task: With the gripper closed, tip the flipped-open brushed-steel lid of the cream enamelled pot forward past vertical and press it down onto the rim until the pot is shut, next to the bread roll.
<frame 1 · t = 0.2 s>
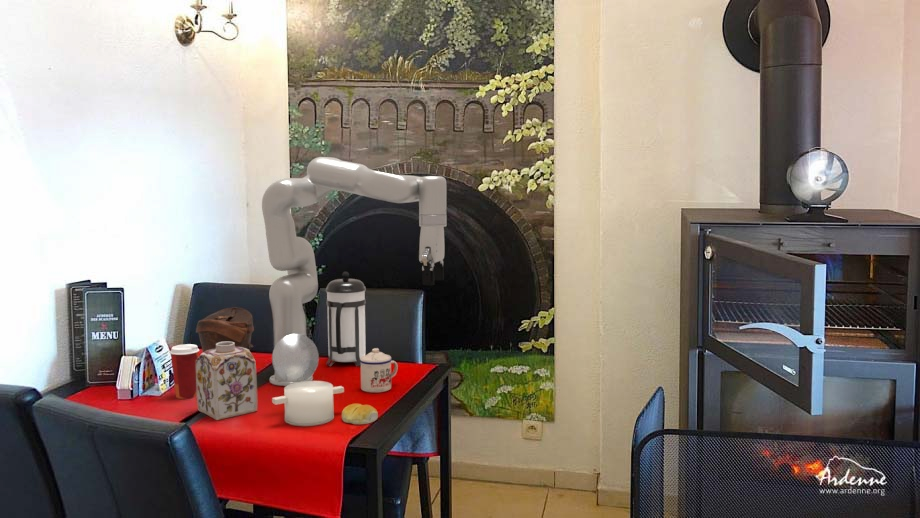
hand: (433, 282, 210), 31 cm above the table, tool pointing down, fingers open, 9 cm apart
teacup with lid: (380, 388, 218), on the table
paper cup: (186, 396, 210), on the table
coffee press: (347, 364, 246), on the table
case: (226, 366, 243), on the table
bread roll: (359, 420, 189), on the table
decorative jar: (227, 411, 196), on the table
pot: (309, 418, 190), on the table
lid: (294, 358, 196), point 14 cm above the table, hinge at 104.0°
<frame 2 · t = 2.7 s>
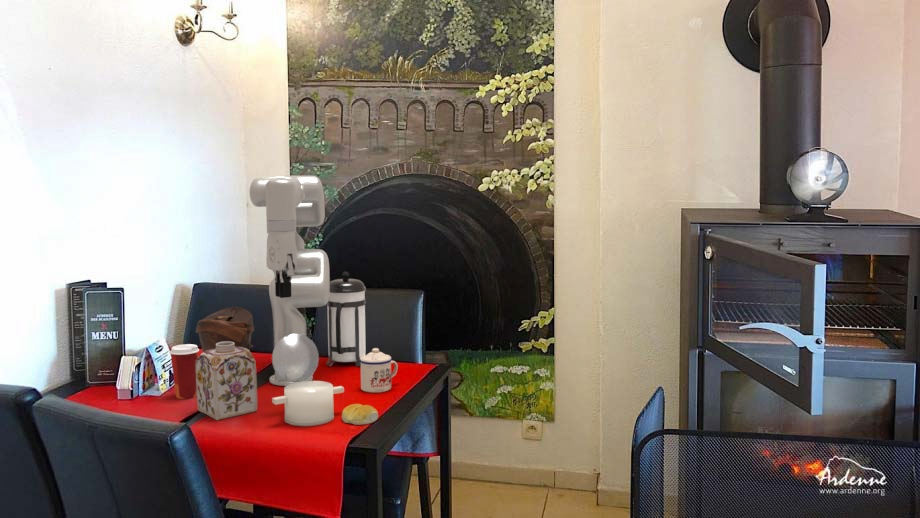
hand: (283, 296, 199), 29 cm above the table, tool pointing down, fingers closed
nothing on the table moved.
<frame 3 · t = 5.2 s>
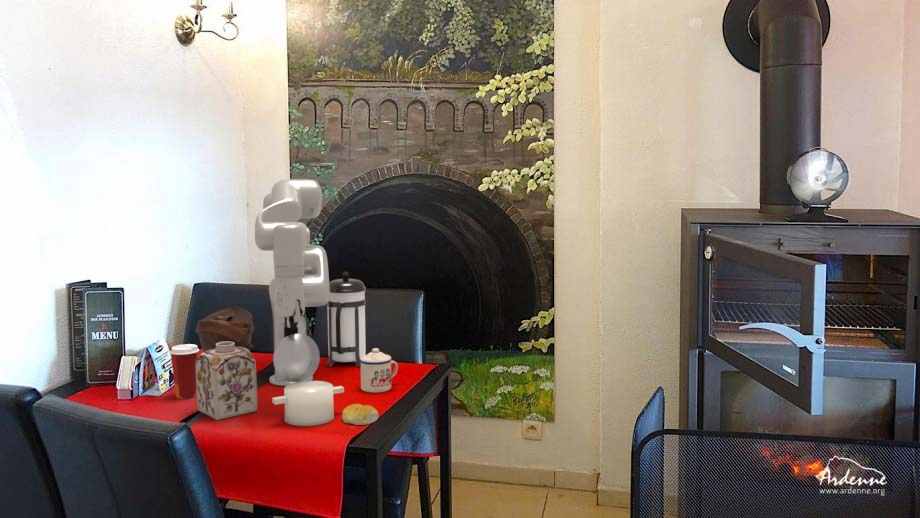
hand: (291, 341, 197), 18 cm above the table, tool pointing down, fingers closed
lid: (296, 357, 195), point 14 cm above the table, hinge at 97.1°, touching gripper
everything else where it was.
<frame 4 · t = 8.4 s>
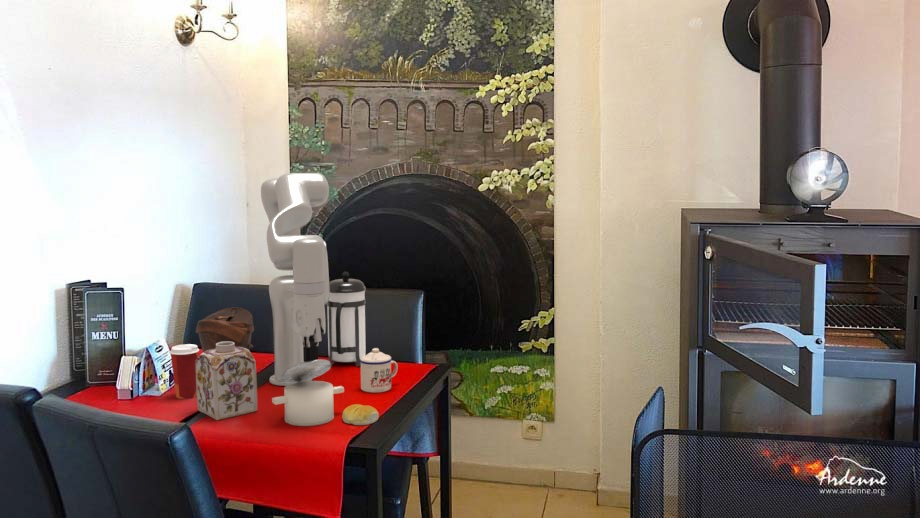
hand: (310, 361, 187), 15 cm above the table, tool pointing down, fingers closed
lid: (306, 369, 190), point 12 cm above the table, hinge at 34.8°, touching gripper
everything else where it was.
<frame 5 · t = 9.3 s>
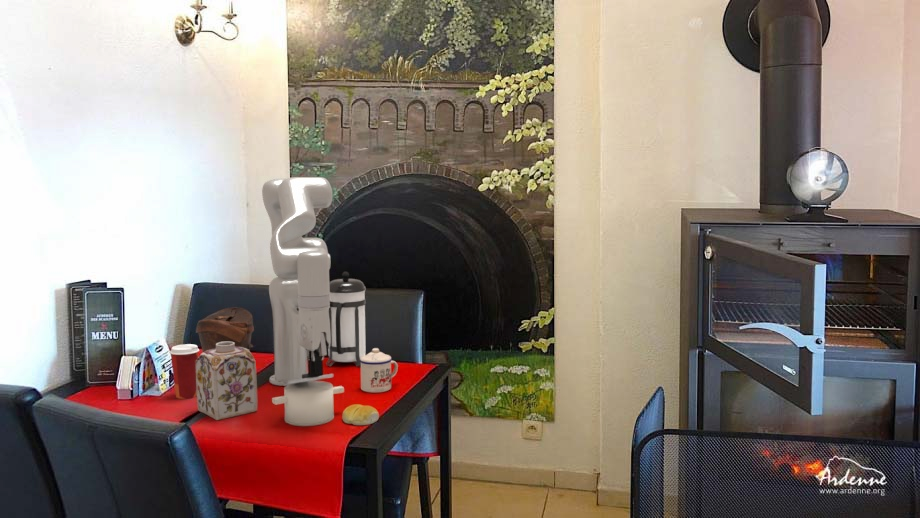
hand: (315, 375, 185), 12 cm above the table, tool pointing down, fingers closed
lid: (308, 377, 189), point 11 cm above the table, hinge at 15.3°, touching gripper
everything else where it was.
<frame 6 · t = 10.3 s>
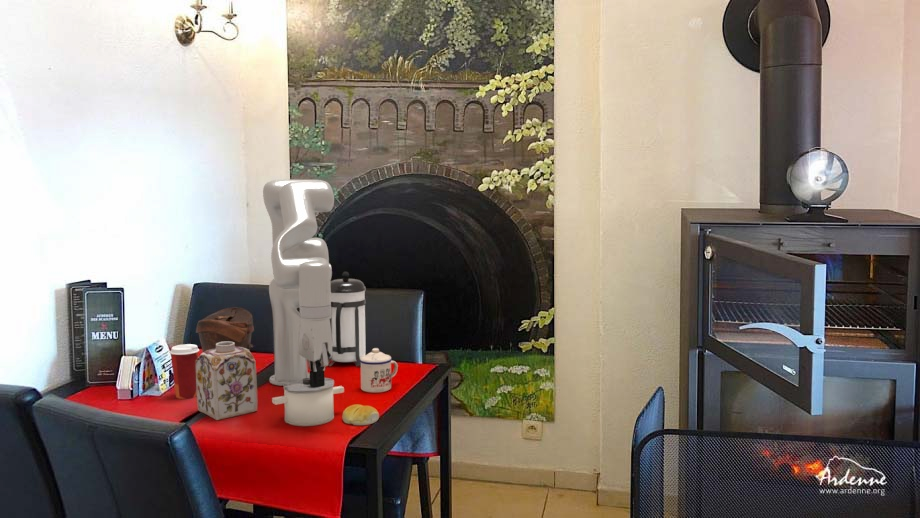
hand: (317, 386, 185), 9 cm above the table, tool pointing down, fingers closed
lid: (308, 382, 189), point 9 cm above the table, hinge at 3.3°, touching gripper
everything else where it was.
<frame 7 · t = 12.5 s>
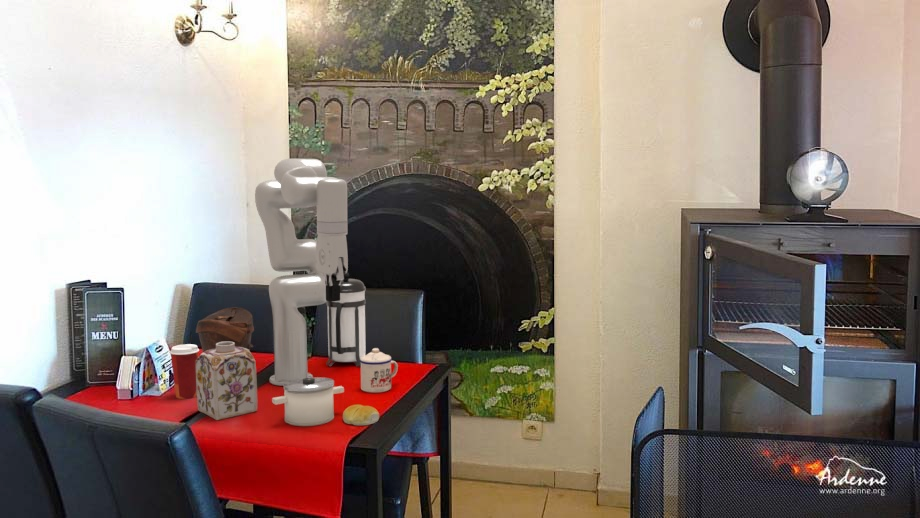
hand: (333, 300, 191), 29 cm above the table, tool pointing down, fingers closed
lid: (308, 382, 189), point 9 cm above the table, hinge at 3.2°
everything else where it was.
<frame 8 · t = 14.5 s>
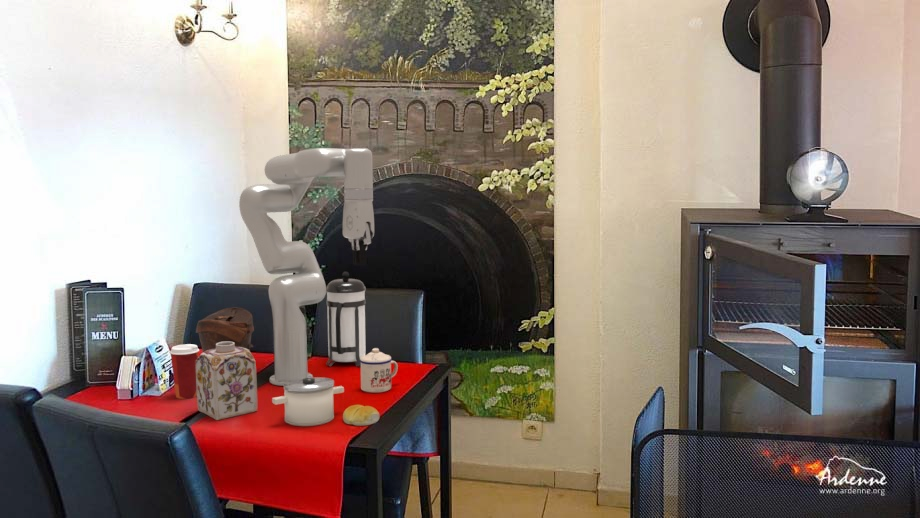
hand: (359, 264, 201), 37 cm above the table, tool pointing down, fingers closed
at the end: lid at +3° (first picture: +104°) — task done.
